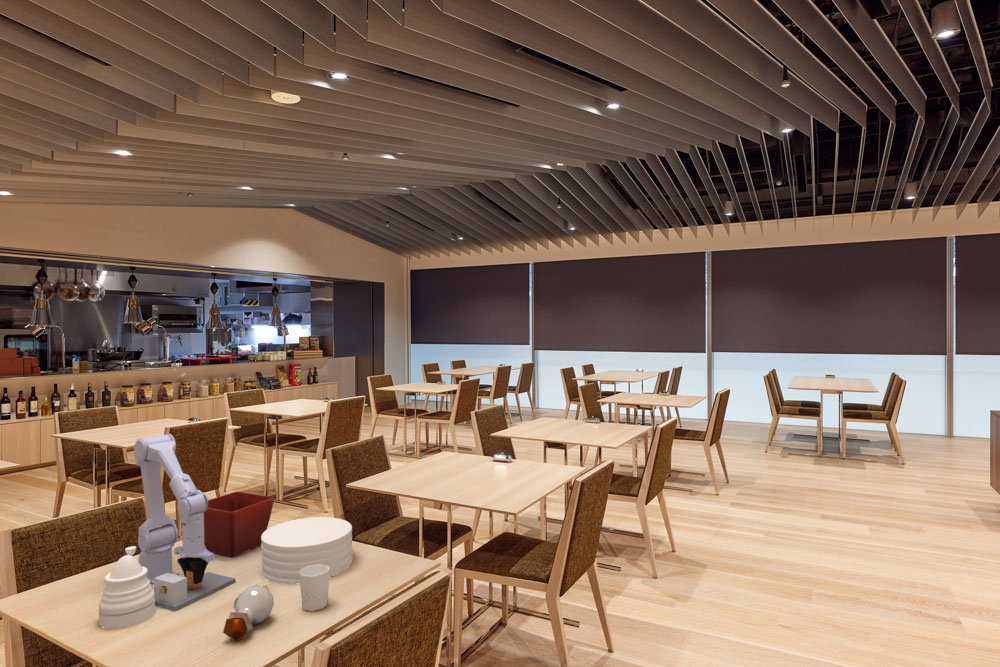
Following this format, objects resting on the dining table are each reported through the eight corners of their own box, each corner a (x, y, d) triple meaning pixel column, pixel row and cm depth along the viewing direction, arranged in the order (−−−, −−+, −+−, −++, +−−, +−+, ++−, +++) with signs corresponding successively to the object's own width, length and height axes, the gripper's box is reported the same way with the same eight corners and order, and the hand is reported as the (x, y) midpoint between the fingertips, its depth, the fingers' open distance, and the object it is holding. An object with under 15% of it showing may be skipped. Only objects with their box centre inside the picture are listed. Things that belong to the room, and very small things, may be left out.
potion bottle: (269, 617, 164) (242, 653, 149) (239, 596, 163) (209, 631, 149) (286, 591, 162) (261, 625, 147) (256, 571, 162) (228, 603, 147)
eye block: (146, 602, 170) (146, 578, 169) (207, 575, 188) (207, 553, 188) (175, 611, 164) (175, 585, 164) (235, 582, 183) (235, 559, 182)
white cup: (303, 600, 170) (303, 565, 170) (332, 598, 171) (331, 563, 171) (296, 613, 163) (296, 576, 162) (326, 611, 163) (326, 575, 163)
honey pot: (120, 605, 168) (118, 542, 168) (165, 606, 168) (163, 542, 167) (87, 629, 155) (85, 560, 155) (135, 629, 155) (134, 560, 154)
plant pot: (276, 543, 215) (275, 496, 215) (232, 562, 198) (232, 512, 198) (237, 536, 223) (236, 491, 223) (192, 554, 206) (191, 505, 205)
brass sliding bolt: (157, 600, 168) (157, 582, 168) (195, 583, 178) (194, 566, 178) (164, 602, 166) (164, 584, 166) (202, 585, 177) (202, 568, 177)
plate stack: (370, 560, 199) (369, 525, 199) (301, 592, 176) (301, 553, 176) (313, 544, 214) (312, 512, 214) (243, 571, 191) (242, 536, 191)
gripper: (164, 536, 176) (165, 582, 176) (198, 543, 170) (199, 591, 170) (185, 529, 182) (186, 573, 182) (219, 535, 176) (220, 581, 176)
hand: (194, 581), depth 176 cm, fingers closed on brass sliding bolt, 3 cm apart
